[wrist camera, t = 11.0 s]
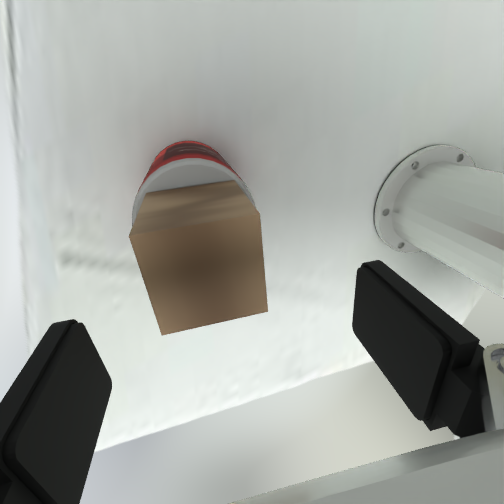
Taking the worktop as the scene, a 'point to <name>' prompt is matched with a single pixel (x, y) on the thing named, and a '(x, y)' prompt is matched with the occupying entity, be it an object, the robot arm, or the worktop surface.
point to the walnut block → (200, 255)
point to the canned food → (186, 171)
